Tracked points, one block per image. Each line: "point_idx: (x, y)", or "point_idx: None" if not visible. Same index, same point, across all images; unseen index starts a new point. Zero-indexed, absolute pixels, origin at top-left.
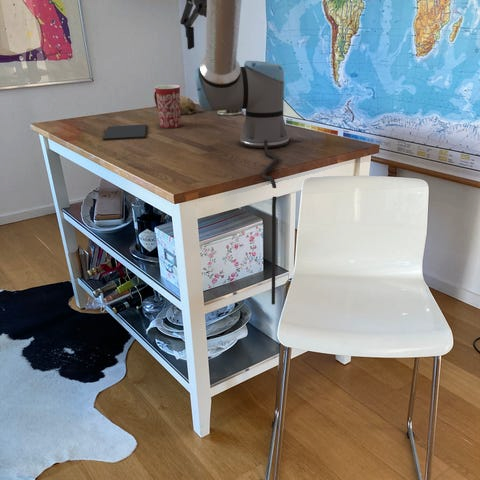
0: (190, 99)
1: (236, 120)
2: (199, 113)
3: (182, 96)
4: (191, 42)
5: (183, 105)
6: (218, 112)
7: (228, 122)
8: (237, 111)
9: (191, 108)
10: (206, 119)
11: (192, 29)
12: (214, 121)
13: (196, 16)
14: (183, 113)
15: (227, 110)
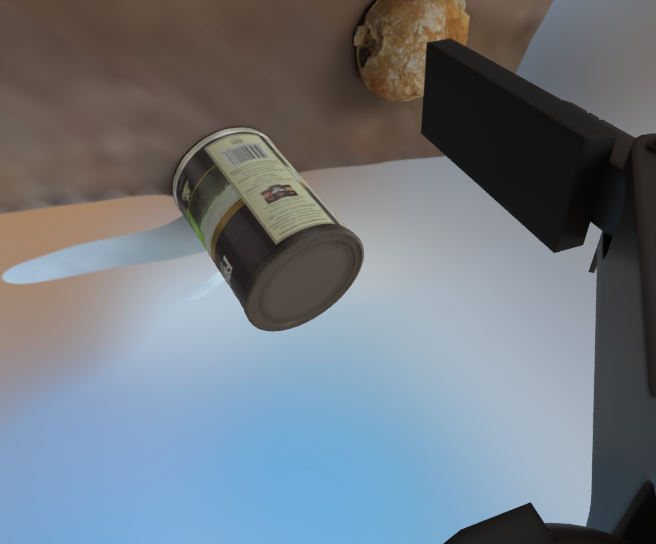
0: (404, 89)
1: (48, 112)
2: (330, 77)
3: None
4: (458, 114)
5: (395, 25)
6: (250, 132)
7: (24, 45)
8: (178, 194)
9: (367, 59)
10: (199, 9)
11: (544, 215)
12: (116, 4)
13: (610, 399)
14: (374, 4)
15: (203, 157)
